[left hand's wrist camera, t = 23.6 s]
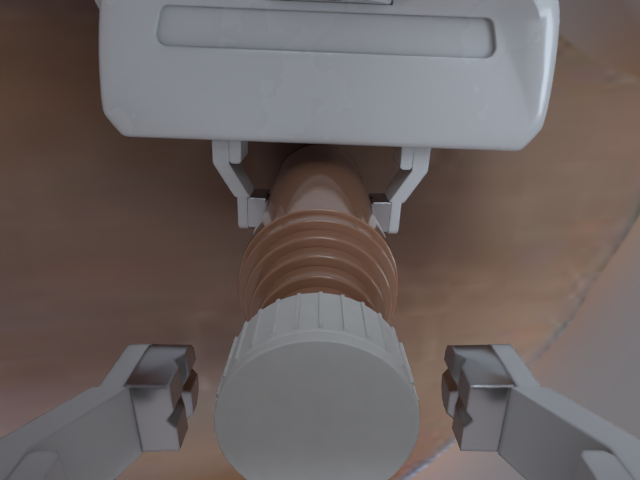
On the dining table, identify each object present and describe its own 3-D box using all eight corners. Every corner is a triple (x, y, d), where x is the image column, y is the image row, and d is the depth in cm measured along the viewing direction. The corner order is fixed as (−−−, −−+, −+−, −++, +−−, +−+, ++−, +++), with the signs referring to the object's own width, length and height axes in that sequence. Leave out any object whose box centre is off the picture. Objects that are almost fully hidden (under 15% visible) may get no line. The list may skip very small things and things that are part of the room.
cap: (278, 257, 10) (269, 300, 8) (440, 337, 10) (466, 394, 8) (202, 394, 11) (177, 458, 9) (349, 457, 12) (354, 528, 10)
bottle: (287, 233, 29) (230, 511, 10) (268, 153, 27) (154, 320, 9) (367, 217, 29) (455, 477, 10) (353, 136, 27) (427, 269, 8)
